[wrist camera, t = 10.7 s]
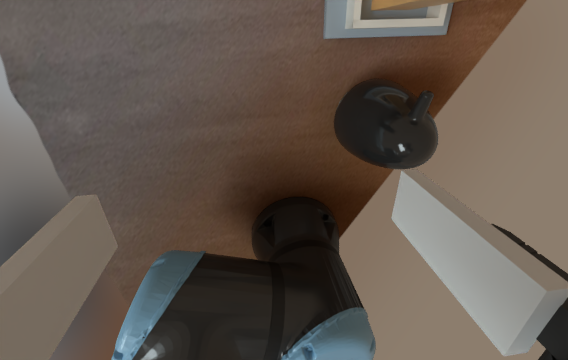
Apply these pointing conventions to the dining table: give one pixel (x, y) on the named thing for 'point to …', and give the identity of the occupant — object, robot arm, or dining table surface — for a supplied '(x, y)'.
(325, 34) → the board
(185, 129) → the dining table surface
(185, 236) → the dining table surface
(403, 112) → the dark grey egg shape
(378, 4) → the plug
